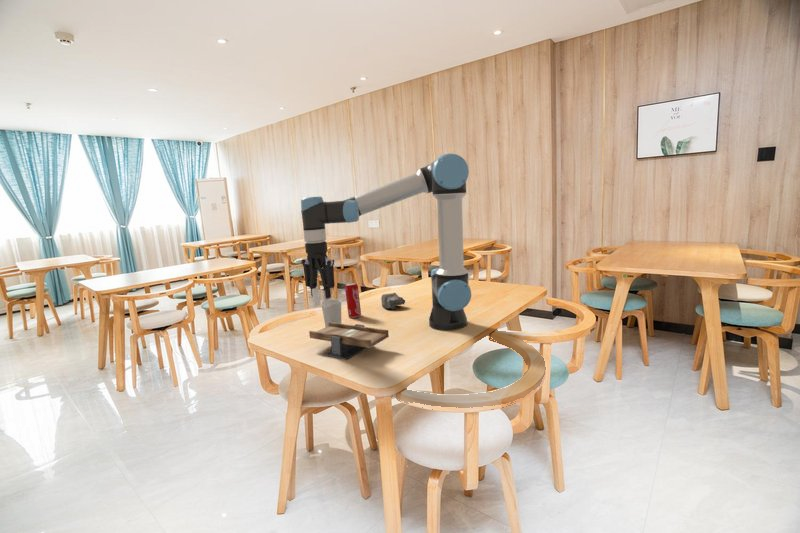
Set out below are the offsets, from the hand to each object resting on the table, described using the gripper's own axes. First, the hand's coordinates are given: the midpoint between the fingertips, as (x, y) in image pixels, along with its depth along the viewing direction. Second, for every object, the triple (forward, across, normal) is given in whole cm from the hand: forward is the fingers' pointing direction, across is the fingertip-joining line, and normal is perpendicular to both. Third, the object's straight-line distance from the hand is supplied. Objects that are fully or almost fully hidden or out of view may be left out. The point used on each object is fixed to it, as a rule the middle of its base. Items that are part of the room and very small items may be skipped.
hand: (322, 306), depth 145 cm
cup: (+15, +8, -14) cm, 22 cm away
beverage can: (+15, +12, -33) cm, 38 cm away
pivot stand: (+15, -11, 0) cm, 18 cm away
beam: (+10, -11, 0) cm, 15 cm away
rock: (+15, +3, -51) cm, 53 cm away
